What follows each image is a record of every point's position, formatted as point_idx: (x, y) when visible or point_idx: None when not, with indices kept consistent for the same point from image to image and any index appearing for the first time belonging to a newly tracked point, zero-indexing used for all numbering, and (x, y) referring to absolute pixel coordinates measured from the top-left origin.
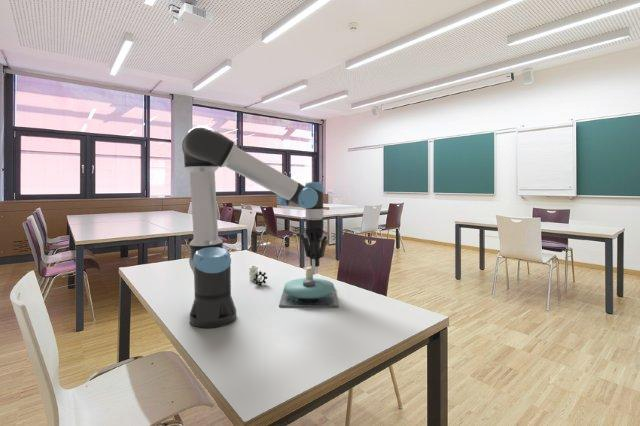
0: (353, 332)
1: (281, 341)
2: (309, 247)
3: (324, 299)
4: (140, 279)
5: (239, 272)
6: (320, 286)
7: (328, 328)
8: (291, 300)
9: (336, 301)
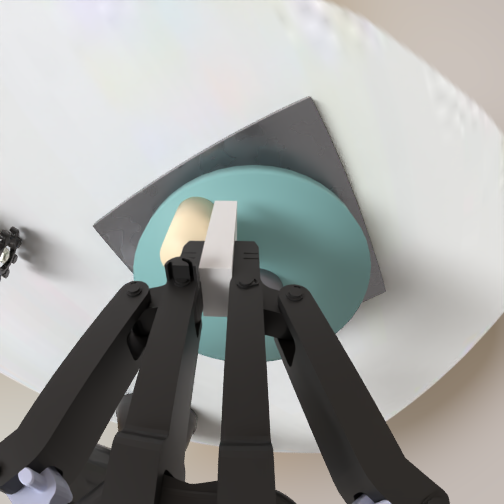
0: (420, 358)
1: None
2: (106, 360)
3: None
4: None
5: None
6: (311, 284)
7: (377, 370)
8: None
9: (375, 267)
